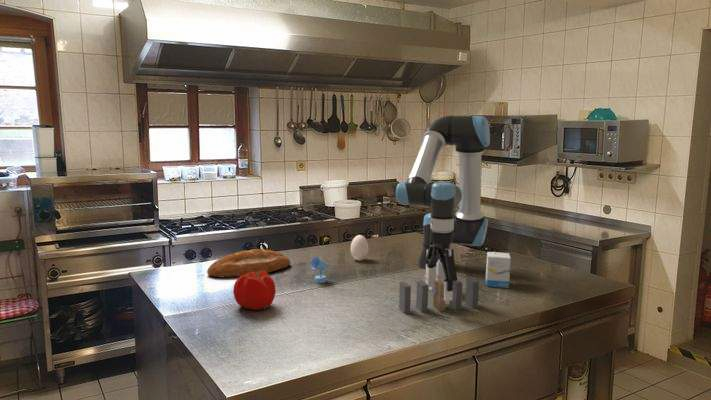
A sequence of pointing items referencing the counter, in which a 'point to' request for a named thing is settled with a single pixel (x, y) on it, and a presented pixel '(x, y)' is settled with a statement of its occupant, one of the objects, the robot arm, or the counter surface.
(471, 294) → the domino
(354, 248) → the egg
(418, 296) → the domino
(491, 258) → the ink box
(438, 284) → the walnut domino
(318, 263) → the spotlight
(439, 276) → the ink box
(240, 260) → the bread
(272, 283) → the tomato
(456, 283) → the domino
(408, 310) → the domino
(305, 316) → the counter surface
